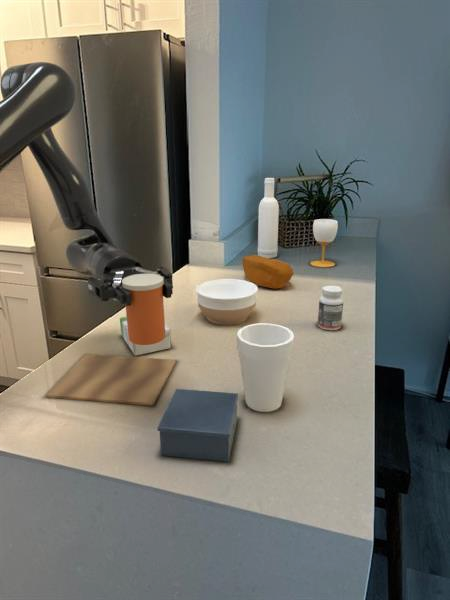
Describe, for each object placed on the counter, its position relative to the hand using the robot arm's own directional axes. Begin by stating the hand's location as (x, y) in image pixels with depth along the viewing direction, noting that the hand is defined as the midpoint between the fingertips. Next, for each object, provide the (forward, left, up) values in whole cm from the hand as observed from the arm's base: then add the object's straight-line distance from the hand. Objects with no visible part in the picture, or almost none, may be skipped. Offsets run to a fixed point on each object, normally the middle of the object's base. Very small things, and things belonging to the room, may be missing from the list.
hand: (149, 295), depth 66 cm
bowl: (+6, +43, -21) cm, 48 cm away
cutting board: (-11, +9, -21) cm, 25 cm away
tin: (+9, -6, -21) cm, 23 cm away
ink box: (-14, +30, -18) cm, 38 cm away
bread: (+15, +74, -21) cm, 79 cm away
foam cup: (+18, +5, -21) cm, 28 cm away
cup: (+34, +98, -21) cm, 106 cm away
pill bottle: (+32, +40, -21) cm, 55 cm away
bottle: (+13, +108, -21) cm, 111 cm away
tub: (-2, +2, -8) cm, 8 cm away
